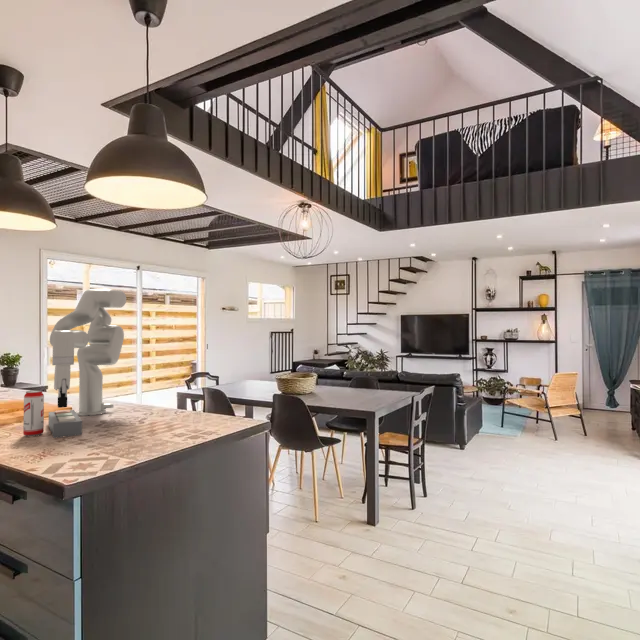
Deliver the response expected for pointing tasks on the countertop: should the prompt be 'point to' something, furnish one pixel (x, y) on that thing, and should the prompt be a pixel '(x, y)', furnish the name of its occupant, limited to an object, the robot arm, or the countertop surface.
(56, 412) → the terracotta key
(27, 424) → the beer can
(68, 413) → the sage key
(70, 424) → the keypad
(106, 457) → the countertop surface
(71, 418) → the cream key
